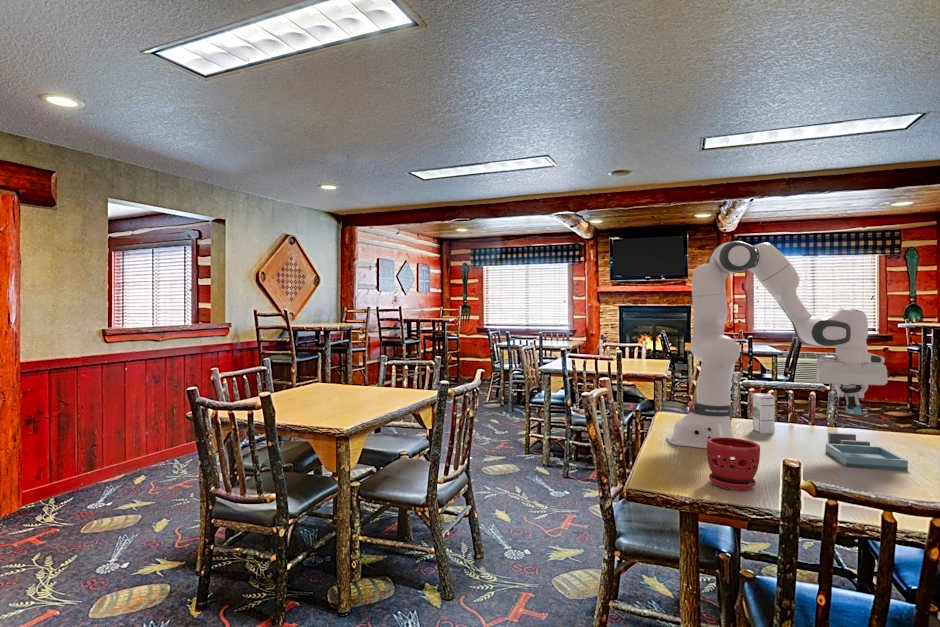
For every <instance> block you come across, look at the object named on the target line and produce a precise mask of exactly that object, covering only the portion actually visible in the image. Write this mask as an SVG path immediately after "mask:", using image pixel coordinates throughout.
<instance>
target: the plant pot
mask: <svg viewBox="0 0 940 627" xmlns="http://www.w3.org/2000/svg"><path fill="white" fill-rule="evenodd" d="M731 446H732V447H731ZM706 456H707V463H708V467H709V469H710V471H711V472H710V473H709V475H708V479H709V481H711V483H713V484H714V485H716V486H718V487H721V488H722V489H723V488H724V489H726V490H734V491H735V490H737V491H744V490H751V489H752V488H754V487H755V486H756V484H757V481H756V480H755V479H754V478H755V476H756V474H757V472H758V469H759V464H760V458H761V445H760V444H758V443H757V442H754V441H750V440H747V439H742V438H736V437H735V438H726V437H715V438H709V439H708V440H707V448H706ZM731 458H734V459H731Z"/></svg>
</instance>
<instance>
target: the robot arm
mask: <svg viewBox="0 0 940 627" xmlns="http://www.w3.org/2000/svg"><path fill="white" fill-rule="evenodd" d="M693 269H694V270H693V272H692V277H691V298H692V309H693V310H692V311H693V325H692V326H693V327H692V336H691V337H692V339H691V341H690V345H689V350H690V351H691V352H690V353H691V354H692V355H693V356H694V357H695V359H697V360H698V361H699V362H701V368H700V373H699V375H698V378H697V379H696V401H695V402H693V401H688V403H687V406H688V408H690V410H689V411H690V412H689V413H687V414H686V415H685V416H683V417H681V418H679V420H677V421H676V422H675V424H674V427H673V433H669V434H668V435H667V436H666V440H667V442H669V443H670V444H671V445H673V446H680V447H688V448H689V447H691V448H701V449H707V440H708V439H709V438H715V437H726V438H734V434H733V427H732V421H733V405H732V404H731V394H732V393H731V391H732V379H733V374H734V370H735V366H736V362H737V361H738V360H739V359H740V355H741V347H740V346H739V344H738V342H737V341H735V339H734V338H731V337H730V336H728V335H725V326H726V322H727V318H728V316H729V313H728V301H727V300H728V298H727V290H726V281H727V278H728V275H729V274H731V275H732V274H736V273H737V274H738V273H741V272H745V271H750V272H751V273H752V274H754V276H755V277H756V279H757V280H758V281H759V283H761V285H762V286H763V287H764V288H765V289H766V291H767V292H768V293H769V294H770V295H771V296H772V297H773V298H774V300H775V301H776V302H777V303H778V306H779V307H781V309H782V311H783V313H784V314H785V315H786V316H787V318H788V319H789V321H790V322H791V324H792V326H793V331H794V336H796V339H797V340H798V341H799V342H800V343H802V344H803V345H806V346H818V347H827V348H828V347H833V346H835V355H828V356H827V355H821V356H820V357H818V358H817V359H816V367H817V368H816V373H815V374H816V375H815V379H816V381H817V382H818V383H821V384H833V387H834V388H835V390H836V392H837V393H836V395H837V398H844V397H845V393H844V392H843V391H842V390H841V389H840V388H841V387H842V385H844V384H855V385H860V388H861V389H859V392H857V395H858V399H860V398H861V399H864V398H865V393H866V392H867V391H868V389H869V385H870V386H885V385H886V384H888V369H887V366H886V365H885V364H884V363H885V361H886V359H885V357H884V356H881V355H877V354H874V353H872V352H868V350H869V349H868V348H869V347H868V344H867V339H868V337H869V327H868V325H869V323H868V316H867V314H866V313H865V312H864V311H862V310H859V309H855V308H854V309H853V308H846V307H845V308H842V307H841V308H839V310H837V311H836V312H833V313H831V314H829V315H826V316H823V317H816V316H815V315H813V314H811V313H810V312H809V311H808V309H807V308H806V307H805V305H804V304H803V302H802V301H801V299H800V298H799V296H798V295H797V294H798V293H797V289H798V288H799V287H798V286H799V285H800V280H801V279H800V276H799V274H798V272H797V270H796V269H795V267H794V265H792V263H791V262H790V261H789V259H788V258H787V257H786V256H785V255H784V254H783V253H782V252H781V251H780V250H779V249H777V248H776V246H774V245H773V244H771V243H770V242H761V243H758V244H755V245H751V244H749V243H746V242H744V241H741V240H733V241H728V242H724V243H721V244H720V245H718V246H716V247H714V249H713V250H712V251H711V253H710V255H709V257H708V260H707V261H706V263H703V264H700V265H698V266H696V267H695V268H693ZM731 447H732V446H731Z"/></svg>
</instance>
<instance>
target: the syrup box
mask: <svg viewBox="0 0 940 627" xmlns="http://www.w3.org/2000/svg"><path fill="white" fill-rule="evenodd" d="M752 430H753V431H755V432H757V433H759V434H775V396H774V395H772V394H769V393H766V392H765V393H761V392H759V393H758V392H757V393H752Z"/></svg>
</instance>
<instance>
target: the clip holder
mask: <svg viewBox="0 0 940 627" xmlns="http://www.w3.org/2000/svg"><path fill="white" fill-rule="evenodd" d="M827 435H828V436H827V437H828V441H827V442H828V444H843V445H861V446H871V442H870V441H868V440H857V439H856V438H857V434H855V433H847V432H846V433H844V432H828V434H827Z"/></svg>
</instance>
